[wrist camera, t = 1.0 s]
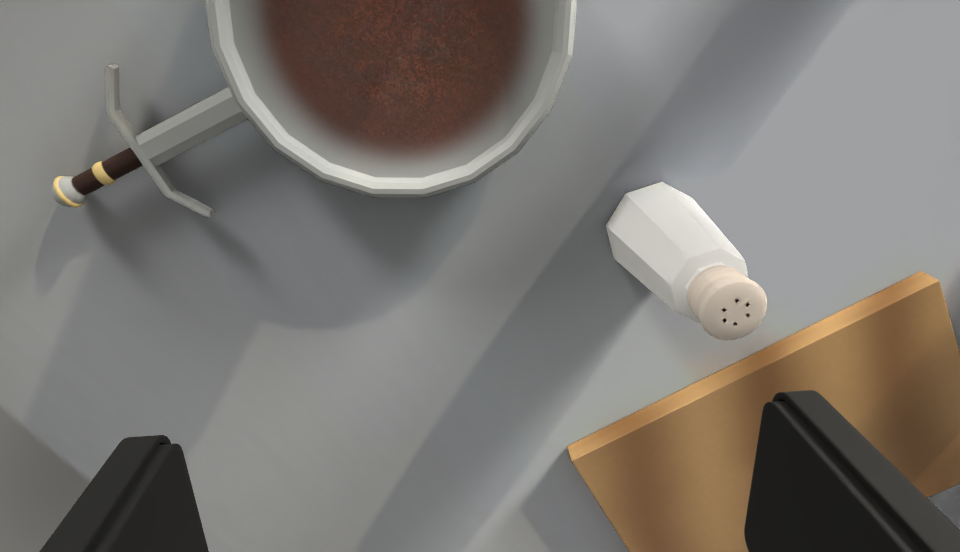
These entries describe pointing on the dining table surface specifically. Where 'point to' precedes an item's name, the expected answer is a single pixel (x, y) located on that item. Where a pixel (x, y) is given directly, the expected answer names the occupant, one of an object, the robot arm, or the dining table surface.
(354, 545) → the dining table surface
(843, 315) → the cutting board
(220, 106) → the frying pan
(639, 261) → the pepper shaker
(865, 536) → the robot arm
